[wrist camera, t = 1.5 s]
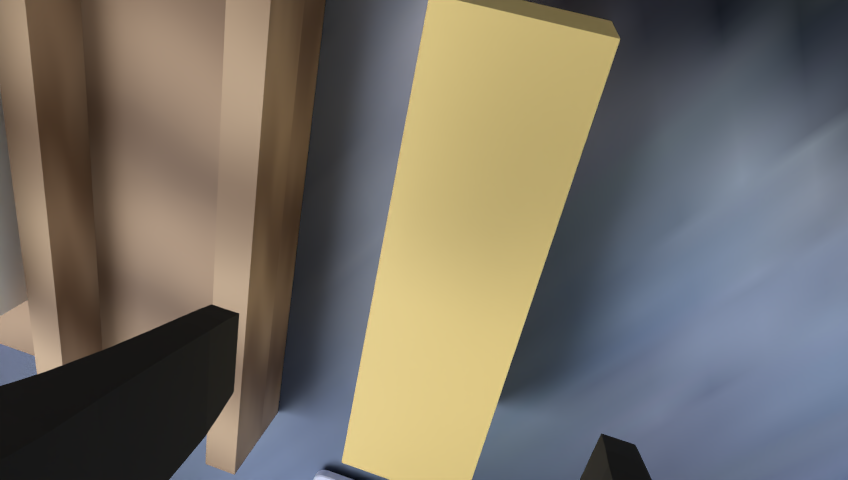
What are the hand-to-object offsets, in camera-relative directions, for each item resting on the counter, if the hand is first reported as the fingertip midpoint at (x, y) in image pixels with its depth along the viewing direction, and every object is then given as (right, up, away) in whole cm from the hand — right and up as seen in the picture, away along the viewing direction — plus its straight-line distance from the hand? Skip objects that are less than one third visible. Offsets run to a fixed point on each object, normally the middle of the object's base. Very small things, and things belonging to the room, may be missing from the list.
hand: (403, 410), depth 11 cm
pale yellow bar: (+2, +4, +8) cm, 9 cm away
